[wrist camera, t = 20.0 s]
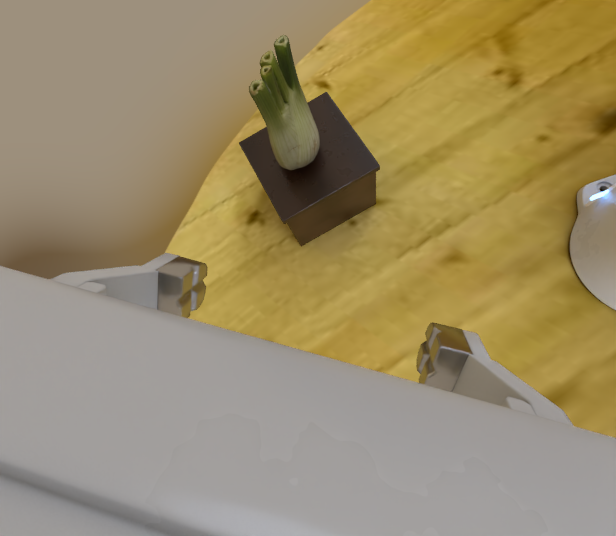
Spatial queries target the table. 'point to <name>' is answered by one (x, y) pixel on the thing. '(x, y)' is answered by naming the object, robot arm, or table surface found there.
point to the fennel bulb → (285, 109)
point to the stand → (318, 175)
